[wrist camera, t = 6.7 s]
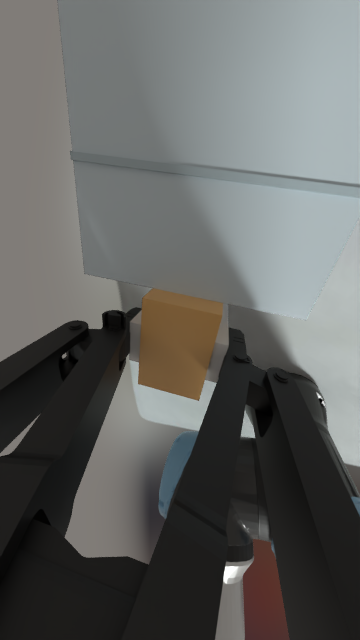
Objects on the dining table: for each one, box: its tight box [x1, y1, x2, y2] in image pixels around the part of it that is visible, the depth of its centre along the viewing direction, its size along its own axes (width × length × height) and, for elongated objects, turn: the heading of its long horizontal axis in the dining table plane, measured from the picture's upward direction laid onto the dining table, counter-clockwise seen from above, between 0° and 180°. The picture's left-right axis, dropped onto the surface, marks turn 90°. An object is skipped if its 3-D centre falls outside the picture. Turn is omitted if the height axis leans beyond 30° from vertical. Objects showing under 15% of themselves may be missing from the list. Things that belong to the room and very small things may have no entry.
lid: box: [57, 0, 360, 401], centre depth 8 cm, size 23×13×4 cm, turn 172°
